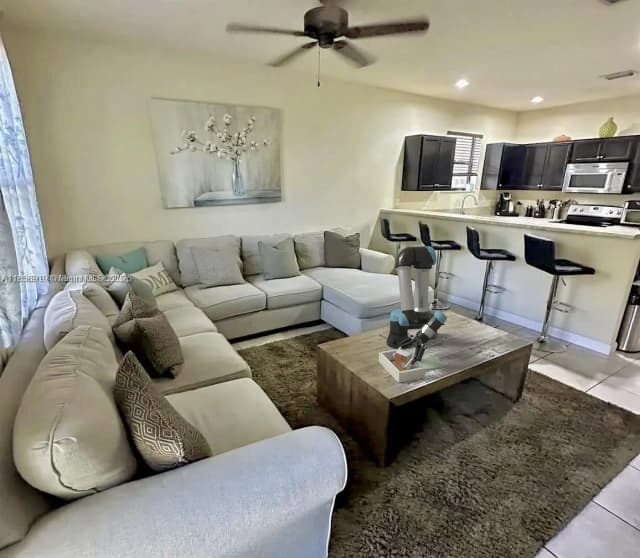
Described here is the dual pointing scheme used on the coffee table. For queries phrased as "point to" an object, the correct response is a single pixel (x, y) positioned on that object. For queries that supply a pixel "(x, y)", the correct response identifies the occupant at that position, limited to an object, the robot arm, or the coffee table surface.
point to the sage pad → (430, 363)
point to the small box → (402, 359)
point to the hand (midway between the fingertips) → (400, 362)
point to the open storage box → (398, 375)
